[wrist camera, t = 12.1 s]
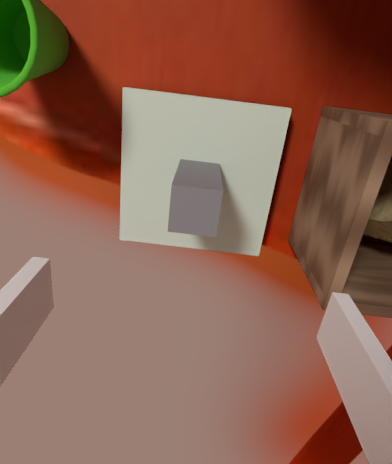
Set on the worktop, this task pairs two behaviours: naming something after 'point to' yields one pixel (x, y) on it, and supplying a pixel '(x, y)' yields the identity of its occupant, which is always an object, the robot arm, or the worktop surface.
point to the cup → (29, 43)
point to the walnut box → (345, 210)
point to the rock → (382, 211)
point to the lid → (198, 170)
